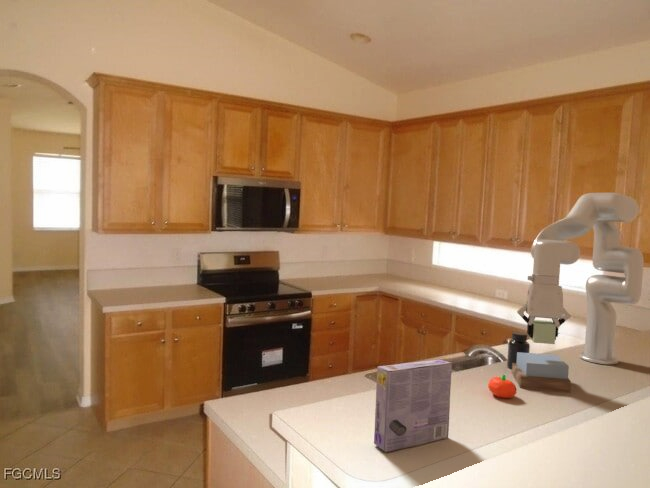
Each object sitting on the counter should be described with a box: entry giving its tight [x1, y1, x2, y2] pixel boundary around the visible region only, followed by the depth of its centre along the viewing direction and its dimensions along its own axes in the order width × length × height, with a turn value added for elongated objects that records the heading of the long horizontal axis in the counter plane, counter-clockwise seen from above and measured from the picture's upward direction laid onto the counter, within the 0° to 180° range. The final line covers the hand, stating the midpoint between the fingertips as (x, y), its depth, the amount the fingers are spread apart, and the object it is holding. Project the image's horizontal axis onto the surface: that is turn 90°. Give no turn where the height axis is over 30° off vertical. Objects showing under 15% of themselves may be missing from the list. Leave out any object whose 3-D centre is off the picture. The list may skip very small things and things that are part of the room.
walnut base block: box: [511, 363, 572, 393], centre depth 153 cm, size 14×14×4 cm
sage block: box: [529, 319, 556, 345], centre depth 152 cm, size 6×6×6 cm
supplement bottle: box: [506, 331, 531, 370], centre depth 167 cm, size 7×7×12 cm
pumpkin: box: [487, 374, 517, 399], centre depth 140 cm, size 7×8×6 cm
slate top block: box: [516, 352, 570, 379], centre depth 152 cm, size 12×12×4 cm
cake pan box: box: [373, 359, 453, 454], centre depth 109 cm, size 19×5×18 cm, turn 118°
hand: (542, 337), depth 152 cm, fingers closed on sage block, 6 cm apart
